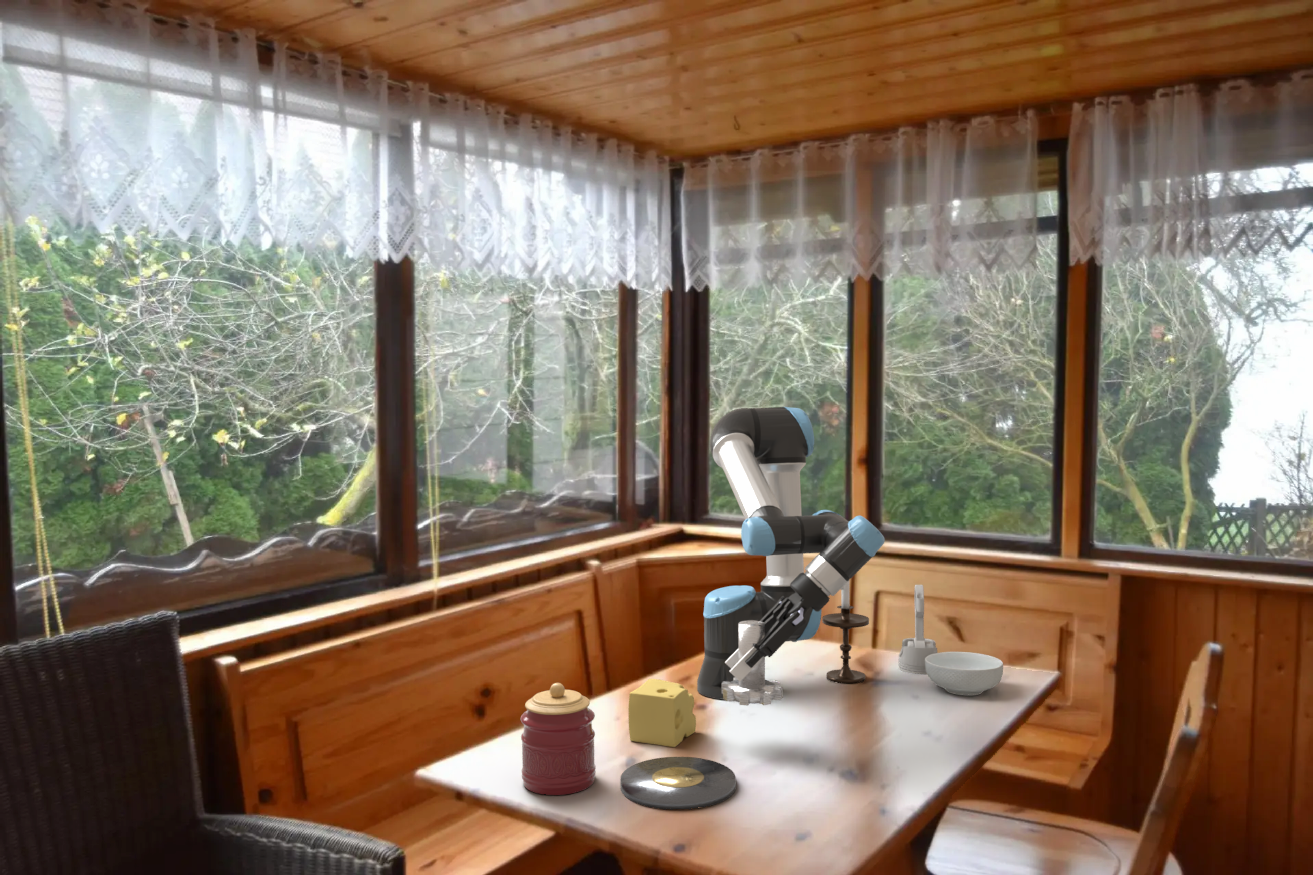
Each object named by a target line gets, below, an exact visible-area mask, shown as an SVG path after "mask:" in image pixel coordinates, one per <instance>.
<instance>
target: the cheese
mask: <svg viewBox="0 0 1313 875" xmlns="http://www.w3.org/2000/svg"><path fill="white" fill-rule="evenodd" d="M627 708H628V732H629V739H630V742H635V743H642V744H649V745H656V746H657V745H658V746H664V747H669V748H676V747H678V745H679V744H681V743H682V742H683V739H684V738H688V737H690V736H691V735H693V734H694V733H695V732H696V728H697V718H696V717H697V716H696V715H695V714H694V711H693V710H694V708H695V698H694V695H693V694H692V693H689V690H688V689H687V688H685V687H684V686H683V684H680V683H677V682H672V681H669V680H668V681H667V680H664V679H658V678H649V679H647V680H646V681H645V682H644V683H643V684H641V685H640V686H639V687H637V688H636V689H634V690H632V691H631V692H629V697H628V707H627Z"/></svg>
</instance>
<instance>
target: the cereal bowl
mask: <svg viewBox="0 0 1313 875" xmlns="http://www.w3.org/2000/svg"><path fill="white" fill-rule="evenodd" d="M925 668H926V672H927V674H926V675H927V676H928V678H929V680H930V681H931V682H932V683H933V684H935V685H936V686H939V687H941V689H942V688H943V689H945V691H947V692H948V693H950V694H953V695H957V696H958V695H959V696H977V695H980V694H982V693H983V692H984V691H989V690H990V689H992V688H995V687H996V686H997V685H999V683H1000V681H1001V680H1002V678H1003V674H1004V663H1003V661H1002V660H1001V659H1000V658H997V657H995V656H992V655H988V654H983V653H978V652H969V651H943V652H938V653H935V654H931V655H929V656H927V657H926V658H925Z"/></svg>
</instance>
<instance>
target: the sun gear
mask: <svg viewBox="0 0 1313 875" xmlns="http://www.w3.org/2000/svg"><path fill="white" fill-rule="evenodd" d="M738 632H739V660H740V659H741V658H742V657H743V656H744V655H745V654H746V653H747V652H748V651H749V650H750V649H751V648H752V647H753V643H755V644H757V645H758V643H759V642H760V641H761V640H762V639H763V637H764V636H765V623H764V622H761V621H754V620H748V621H741V622H739V623H738ZM783 689H784V688H783V687H782V686H781V682H780V681H778V680H776V679H774V680H767V679H766V657H764V658H763V659H762V660H761V661H760V662H759V663H758V664H757V665H756V666H755V667H754V668H753V669H752V670H751V671H750V672H749V673H748V674H747V675H746V676H745V677H744V678H743V679H742V680H741V681H739V680H738V679H737V678H736V677H734V678H733V681H731V682H727V681H724V682H723V683H722V694H723V699H722V700H724V701H726V702H730V701H733V702H734V701H735V702H737V703H739V706H747V707H748V706H749V705H750V704H761V705H762V706H768V705H772V701H773V700H775V701H782V699H783V698H784V697H783V692H784V691H783Z"/></svg>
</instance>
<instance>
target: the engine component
mask: <svg viewBox="0 0 1313 875" xmlns="http://www.w3.org/2000/svg"><path fill="white" fill-rule="evenodd" d="M924 590H925V588H924V585H923V584H915V585H914V595H913V596H914V598H913V599H914V602H913V603H914V633H915V635H914V637H909V638H908V637H907V638H903V640H902V642H901V643H902V644H901V649H900V652H899V654H898V669H899V671H902V672H903V673H907V674H911V673H912V674H911V675H913V674H914V675H927V672H926V668H925V658H926V657H927V656H929V655H931V654H935V653H939V652H938V647H936V646H937V645H936V644H937V643H936V641H935V640H934V639H932V638H931V639H930V638H926V637H925V634H924V632H925V628H924V626H925V625H924V617H925V591H924Z"/></svg>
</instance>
